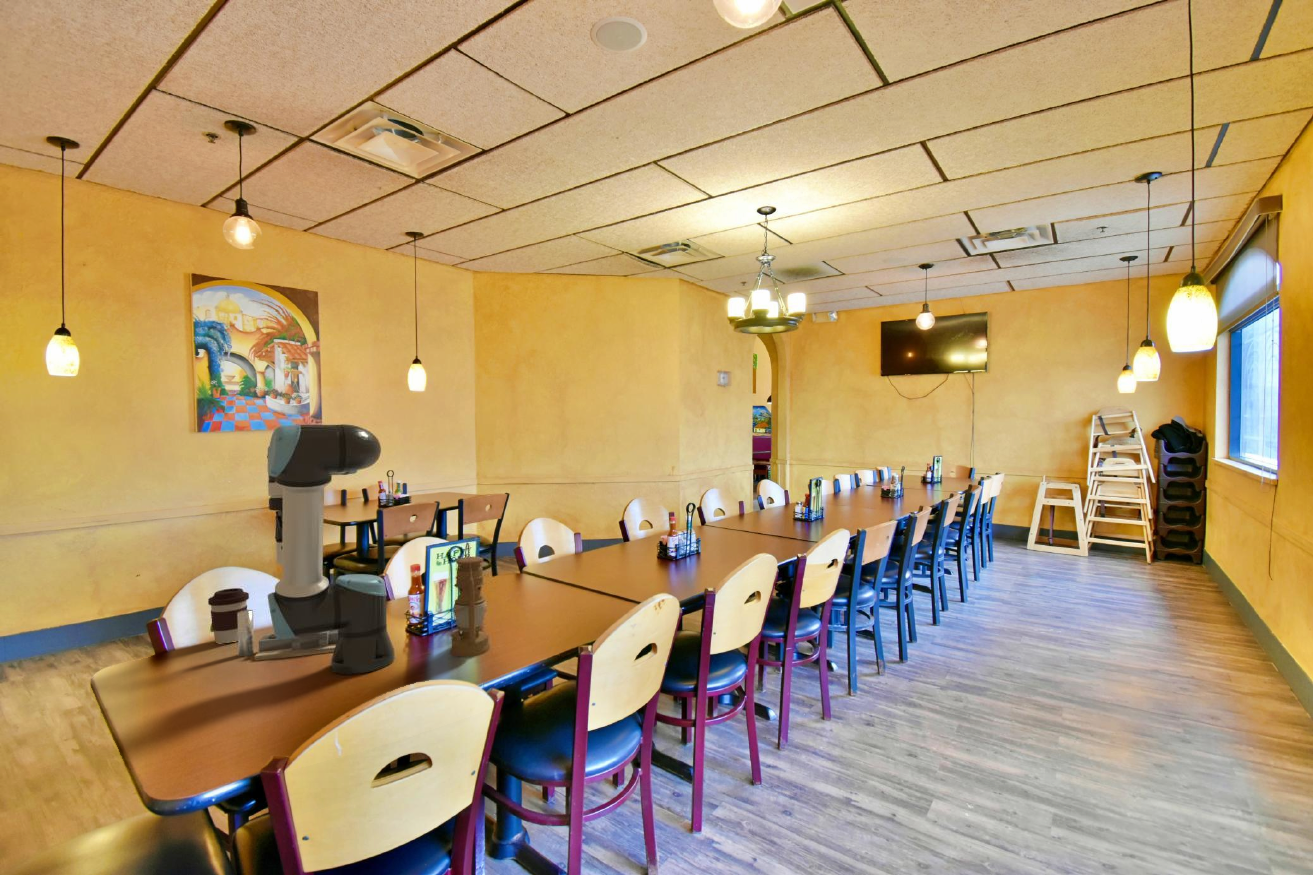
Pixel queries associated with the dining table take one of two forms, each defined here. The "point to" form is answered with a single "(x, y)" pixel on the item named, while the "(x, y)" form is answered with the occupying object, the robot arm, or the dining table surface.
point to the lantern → (469, 609)
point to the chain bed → (293, 653)
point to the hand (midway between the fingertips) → (285, 567)
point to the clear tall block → (245, 633)
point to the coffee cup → (227, 613)
